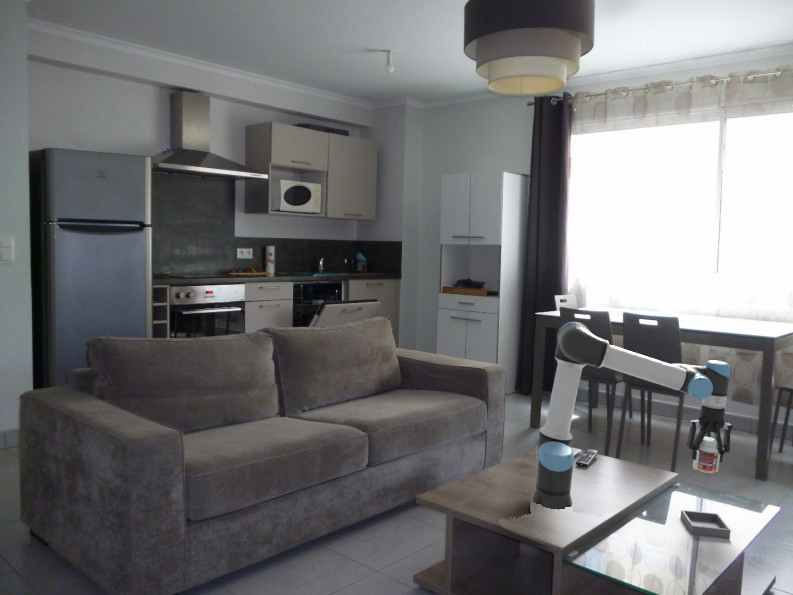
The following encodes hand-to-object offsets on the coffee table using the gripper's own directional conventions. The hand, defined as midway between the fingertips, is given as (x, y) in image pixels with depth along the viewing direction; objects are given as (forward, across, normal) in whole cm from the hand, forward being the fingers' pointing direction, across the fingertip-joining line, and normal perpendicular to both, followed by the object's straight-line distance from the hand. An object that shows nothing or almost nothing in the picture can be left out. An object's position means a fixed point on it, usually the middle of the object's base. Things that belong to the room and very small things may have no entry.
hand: (705, 469), depth 229 cm
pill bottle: (+1, 0, 0) cm, 1 cm away
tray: (+17, -2, -10) cm, 20 cm away
